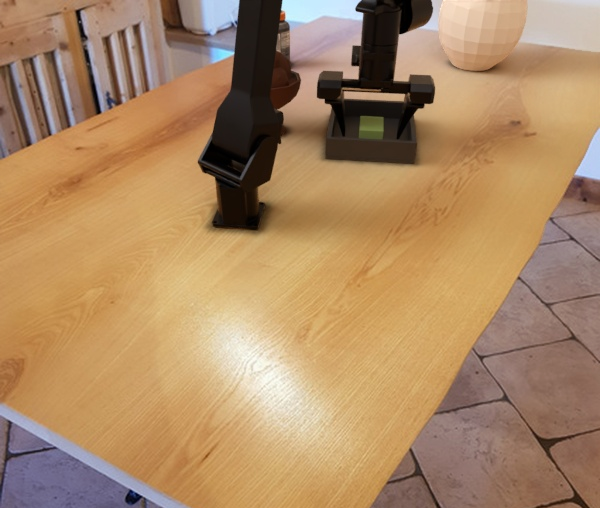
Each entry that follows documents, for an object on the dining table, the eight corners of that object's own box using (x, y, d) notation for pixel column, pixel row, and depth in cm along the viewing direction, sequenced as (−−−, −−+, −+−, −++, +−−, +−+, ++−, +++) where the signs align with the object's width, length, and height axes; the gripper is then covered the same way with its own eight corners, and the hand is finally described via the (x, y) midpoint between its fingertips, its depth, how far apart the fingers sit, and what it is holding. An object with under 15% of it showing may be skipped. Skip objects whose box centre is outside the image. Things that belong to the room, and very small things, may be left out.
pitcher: (427, 73, 123) (447, -59, 106) (436, 49, 136) (455, -72, 120) (513, 82, 119) (548, -54, 102) (514, 56, 132) (545, -67, 116)
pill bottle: (260, 63, 128) (258, 9, 120) (283, 59, 130) (283, 6, 122) (270, 70, 124) (268, 16, 116) (294, 67, 125) (294, 13, 118)
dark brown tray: (414, 163, 90) (417, 143, 87) (325, 158, 91) (326, 138, 89) (409, 120, 103) (412, 101, 101) (332, 116, 104) (333, 97, 102)
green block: (381, 148, 93) (383, 131, 91) (358, 146, 93) (359, 129, 91) (381, 133, 97) (383, 116, 95) (359, 132, 98) (360, 115, 96)
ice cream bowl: (294, 146, 94) (294, 55, 85) (232, 140, 96) (225, 50, 86) (306, 121, 102) (307, 35, 92) (248, 116, 104) (244, 31, 94)
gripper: (436, 28, 90) (422, 121, 100) (323, 24, 91) (320, 115, 101) (442, 49, 81) (426, 147, 92) (317, 44, 83) (315, 141, 93)
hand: (370, 137), depth 95 cm, fingers open, 9 cm apart
